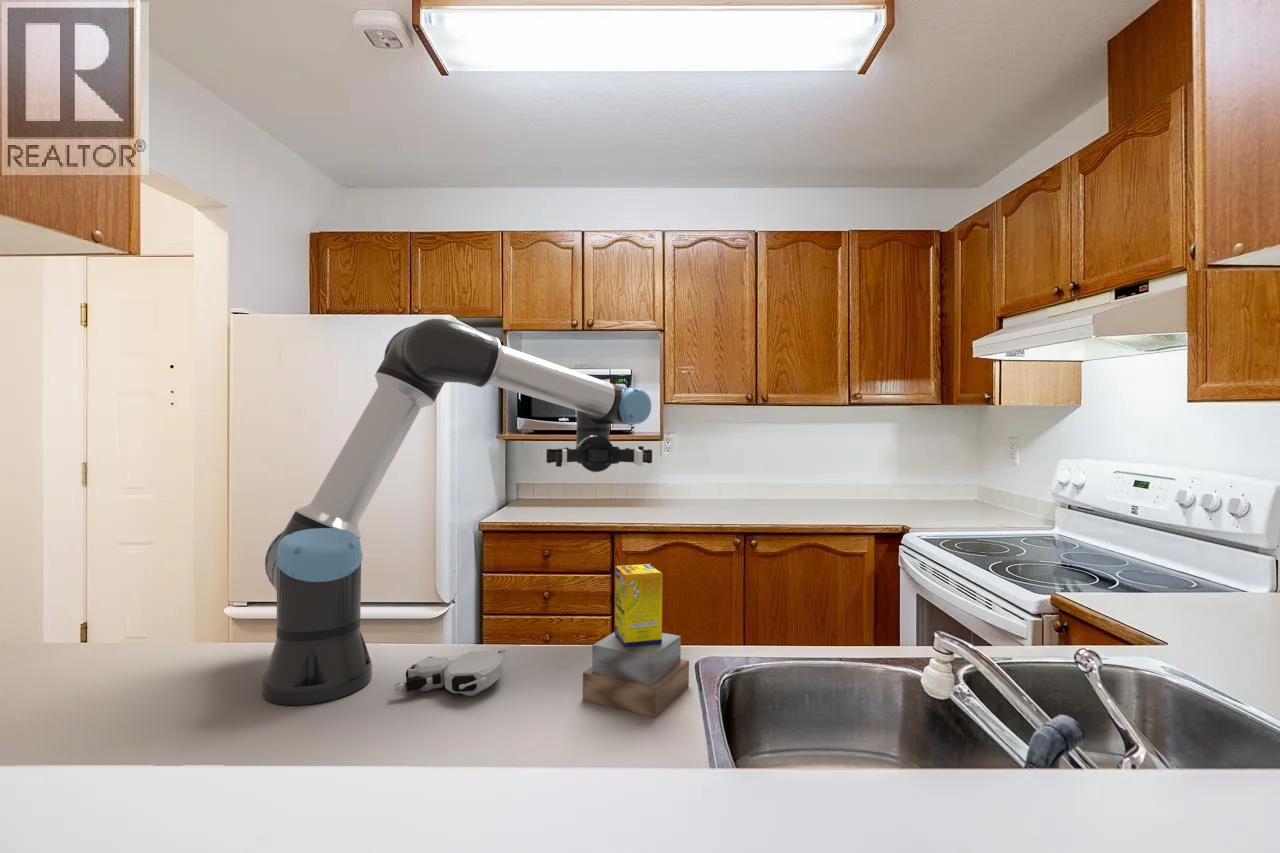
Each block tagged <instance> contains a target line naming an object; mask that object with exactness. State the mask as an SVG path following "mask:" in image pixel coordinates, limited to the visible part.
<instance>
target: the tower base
mask: <svg viewBox="0 0 1280 853" xmlns="http://www.w3.org/2000/svg"><path fill="white" fill-rule="evenodd" d="M681 639H682V638H681V635H676V634H671V633H666V632H665V633H664V632H662V644H658V645H649V646H639V647H630V648H625V647H624V645H623V644H622V642H621V641H620V640H619V638H618V637H617V636H616V635H615V631H613V632H612V633H610V634H608V635H607V636H605V637H603V638H602V639H600V640H598V641H595V643H593V644H592V650H591V652H592V654H591V656H592V657H591V662H592V663H591V664H592V666H591V667H589V668H587V669H586V670H585V671H583V672H582V700H583V701H587V702H590V703H595V704H599V705H602V706H608V707H611V708H615V709H619V710H623V711H627V712H631V713H635V714H638V715H644V716H647V717H651V718H652V717H653V718H657V717H658V716H659V715H660V714H661V713H662V712H663V711H664V710H665V709H667V707H668V706H669V705H671V703H673V702H674V701H675V700H676V699H677V698H678V697H679V696H680V695H681V694H682V693H684V691H685V690H686V689H687V688H688V687H689V686H690V685H689V684H690V683H689V682H690V681H689V679H690V677H689V676H690V661H689V660H687V659H683V658H681V657H682V655H681V650H682V649H681V645H682V644H681V642H682V640H681Z"/></svg>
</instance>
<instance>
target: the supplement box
mask: <svg viewBox="0 0 1280 853" xmlns="http://www.w3.org/2000/svg"><path fill="white" fill-rule="evenodd" d="M614 571H615V573H614V575H615V578H614V579H615V582H614V583H615V585H614V587H615V590H614V591H615V592H614V594H615V596H614V602H615V603H614V607H615V609H614V632H615V635H616V636H617V637H618V638H619V640H620V641H621V642H622V644H623V645H624V647H625V648H630V647H639V646H649V645H658V644H662V633H663V628H662V627H663V576H664V575H663V572H661V571H660V570H658V569H657V568H655V566H653V565H652V564H651V563H644V564H626V565H615V568H614Z"/></svg>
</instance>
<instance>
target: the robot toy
mask: <svg viewBox="0 0 1280 853" xmlns="http://www.w3.org/2000/svg"><path fill="white" fill-rule="evenodd" d="M507 650H508V648H503V649H500V650H494V649H487V650H471V651H469V652H465V653H462V654H461V655H459V656H457V657H455V659H453V660H450V659H449V657H445V656H444V657H443V656H442V657H441V656H440V657H438V656H435V657H434V656H428V657H426V658H423V659H422V660H420V661H418V662H415V663H413V664H411V666H409V667H408V668H407V669H406V672H405V677H406V678H405V682H403V681H399V682H397V683H395V684H394V686H393V688H394V691H396V692H401V691H403V690H405V689H406V692H407V693H410V692H414V691H419V690H421V692H425V691H426V692H427V691H428V692H429V691H431V690H434V689H441V688H443V687H444V688H445V689H446V690H447V691H449V692H451V693H453V694H462V695H464V696H466V697H473V696H476V695H477V694H479V693H480V692H481V691H483V690H486V689H488V688H490V687H491V686H492V685H494V683H496V682H497V681H498V679H500V678H501V676H502V675H503V671H504V666H503V655H502V654H501V653H505V652H506V651H507Z"/></svg>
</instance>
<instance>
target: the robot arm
mask: <svg viewBox="0 0 1280 853" xmlns="http://www.w3.org/2000/svg"><path fill="white" fill-rule="evenodd" d="M385 347H386V348H385V350H384V356H383V360H382V362H381V363H380V365H379V367H378V369H377V370H376V371H375V372H376V373H375V374H374V377H375V378H374V379H375V381H376V383H377V388H376V389H375V391H374V393H373V395H372V396H371V398H370V400H369V402H368V404H367V405H366V407H365V408H364V410H363V412H362V414H361V415H360V417H359V419H358V421H357V422H356V424H355V426H354V427H353V429H352V431H351V432H350V435H349V436H348V438H347V440H346V441H345V443H344V445H343V447H342V449H341V450H340V451H339V453H338V455H337V457H336V459H335V461H334V462H333V464H332V465H331V467H330V469H329V471H328V472H327V473H326V474H327V475H326V476H325V477H324V479H323V481H322V483H321V485H320V486H319V488H318V490H317V491H316V494H315V495H314V497H313V498H312V501H310V503H309V504H308V505H305V506H302V507H299V508H296V509H295V511H294V513H293V515H292V516H291V517H290V519H289V521H288V523H287V524H286V526H285V528H284V530H283V531H281V532H280V533H279V534H278V535H276V537H275V538H274V539H273V540H272V542H271V543H270V544H269V546H268V549H267V550H266V554H265V558H264V560H265V561H264V566H265V567H264V568H265V569H264V570H265V573H266V575H267V577H268V581H269V582H270V584H271V585H272V586H273V588H274V590H276V634H275V635H276V636H275V637H276V640H275V643H274V646H273V649H272V652H271V654H270V657H269V660H268V664H267V666H266V670H265V673H264V674H263V677H262V682H261V683H262V684H261V685H262V687H261V688H262V690H261V693H262V695H261V696H262V697H263V698H264V700H265V701H267V702H269V703H273V704H278V705H286V706H292V705H293V706H301V705H312V704H317V703H318V704H319V703H323V702H328V701H332V700H337V699H340V698H343V697H345V696H348V695H351V694H353V693H355V692H357V691H359V690H361V689H363V688H365V687H366V685H367V684H369V683H370V681H371V680H372V677H373V676H372V674H373V663H372V662H373V661H372V660H371V657H370V653H369V651H368V648H367V645H366V642H365V638H364V637H363V633H362V631H361V602H362V601H361V600H362V598H361V594H362V593H361V592H362V590H361V589H362V582H361V581H362V561H363V550H362V547H361V546H362V545H361V543H362V542H361V540H360V539H361V537H362V535H361V531H360V528H359V522H360V520H361V518H362V517H363V515H364V514H365V512H366V509H367V508H368V506H369V504H370V503H371V501H372V498H373V497H374V495H375V493H376V492H377V489H378V488H379V486H380V484H381V483H382V481H383V478H384V477H385V475H386V473H387V471H388V469H389V468H390V466H391V463H392V462H393V460H394V458H395V456H396V455H397V453H398V451H399V449H400V448H401V446H402V444H403V442H404V441H405V438H406V436H407V434H408V433H409V431H410V429H411V427H412V426H413V424H414V423H415V420H416V419H417V417H418V415H419V413H420V412H421V410H422V409H423V408H425V407H428V406H429V407H430V406H433V405H434V404H435V401H436V399H437V397H438V396H439V393H440V392H441V390H442V389H443V386H444V385H445V383H459V384H460V383H461V384H468V385H472V386H475V387H478V388H483V387H486V386H487V385H491V386H494V387H498V388H500V389H503V390H504V389H505V390H508V391H511V392H515V393H518V394H521V395H524V396H528V397H530V398H535V399H537V400H541V401H545V402H547V403H551V404H554V405H557V406H562V407H565V408H568V409H572V410H575V411H576V435H575V436H576V440H575V441H576V442H575V443H576V445H575V448H570V447H563V448H547V449H546V457H545V458H546V463H547V464H551V463H555V468H557V467H560V468H561V467H565V466H566V467H567V464H568V463H574V462H575V463H577V464H581V466H582V467H583V468H584V469H586V470H588V471H590V472H592V473H594V474H595V473H599V472H600V473H601V472H604V471H606V470H607V469H609V468H610V466H611V465H618V464H619V463H620V462H621V463H633V464H634V465H636V466H639V467H640V466H642V467H643V465H644V464H643V463H646V464H652V463H653V450H652V449H651V448H650V449H644V448H645V447H644V446H643V445H642V446H641V445H640V446H639V445H638V448H629V447H626V448H620V447H619V446H613V444H612V443H611V441H610V432H611V431H610V428H611V427H610V426H611V425H628V426H633V425H637V424H638V425H640V424H641V423H644V422H645V421H646V420H647V419H648V418H649V416H650V415H651V411H652V401H651V398H650V395H649V394H648V393H647V392H646V391H645V390H644V389H642V388H639V387H638V388H636V387H633V386H632V387H628V388H626V387H623V386H620V385H618V384H615V383H610V382H608V381H607V380H603V379H599V378H597V377H594V376H591V375H589V374H586V373H583V372H580V371H576V370H574V369H572V368H569V367H565V366H562V365H559V364H557V363H554V362H552V361H548V360H546V359H543V358H539V357H536V356H534V355H531V354H528V353H526V352H523V351H519V350H518V349H514V348H511V347H508V346H504V345H502V344H501V341H500V340H499V338H498V337H496V336H494V335H491V334H488V333H485V332H483V331H480V330H477V329H475V328H472V327H470V326H467V325H464V324H461V323H458V322H456V321H454V320H453V321H452V320H449V319H444V318H429V319H425V320H423V321H420V322H419V323H417V324H414V325H411V326H407V327H405V328H403V329H401V330H399V331H398V332H396V334H394V335H393V336H392V337H391V339H390V340H389V341H388V343H387V345H386V346H385Z"/></svg>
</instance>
